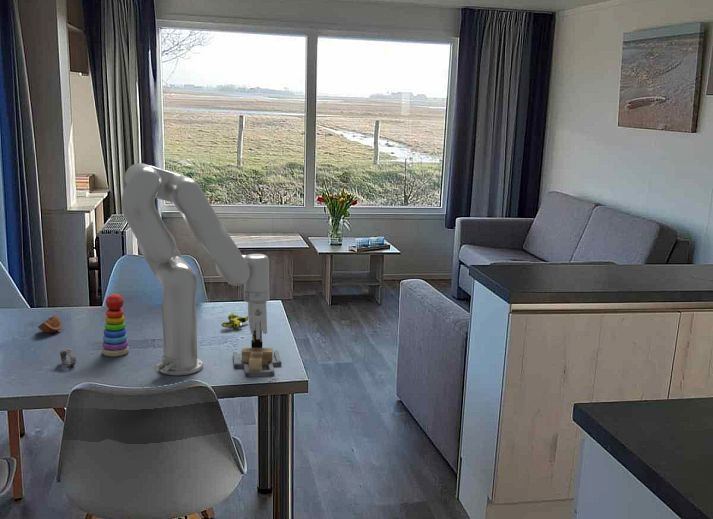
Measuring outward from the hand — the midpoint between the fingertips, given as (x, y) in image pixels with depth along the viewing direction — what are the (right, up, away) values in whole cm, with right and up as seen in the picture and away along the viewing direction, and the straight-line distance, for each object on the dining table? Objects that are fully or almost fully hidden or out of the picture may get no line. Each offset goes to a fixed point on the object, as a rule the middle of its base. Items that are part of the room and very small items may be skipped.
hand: (256, 352), depth 211 cm
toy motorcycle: (-12, +5, +30) cm, 32 cm away
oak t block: (+1, -3, -7) cm, 8 cm away
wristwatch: (-54, -2, -10) cm, 55 cm away
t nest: (+1, -3, -6) cm, 7 cm away
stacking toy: (-44, 0, +1) cm, 44 cm away
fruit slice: (-71, +4, +17) cm, 73 cm away
